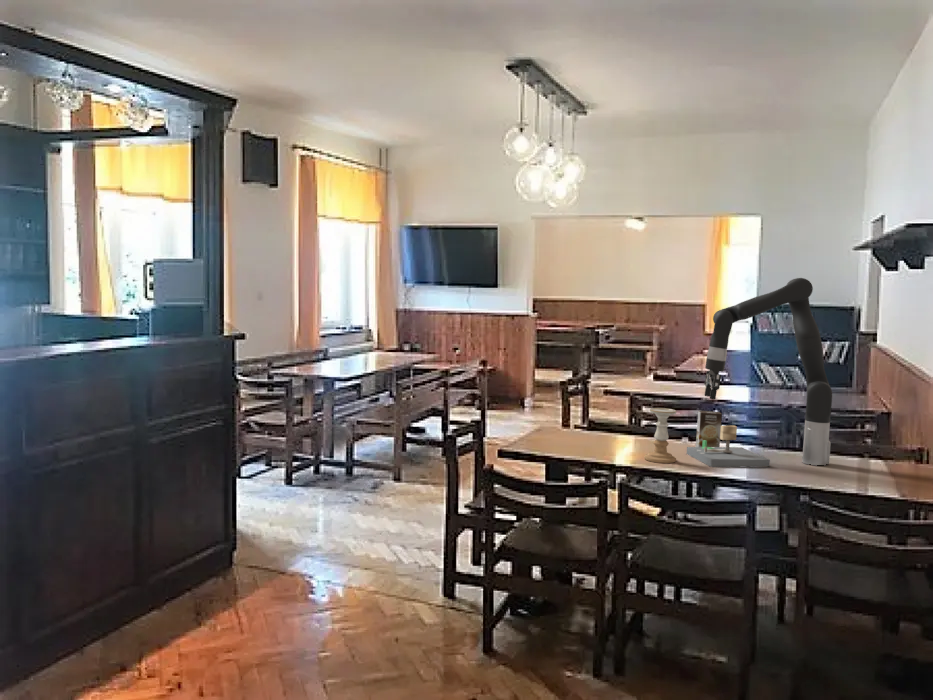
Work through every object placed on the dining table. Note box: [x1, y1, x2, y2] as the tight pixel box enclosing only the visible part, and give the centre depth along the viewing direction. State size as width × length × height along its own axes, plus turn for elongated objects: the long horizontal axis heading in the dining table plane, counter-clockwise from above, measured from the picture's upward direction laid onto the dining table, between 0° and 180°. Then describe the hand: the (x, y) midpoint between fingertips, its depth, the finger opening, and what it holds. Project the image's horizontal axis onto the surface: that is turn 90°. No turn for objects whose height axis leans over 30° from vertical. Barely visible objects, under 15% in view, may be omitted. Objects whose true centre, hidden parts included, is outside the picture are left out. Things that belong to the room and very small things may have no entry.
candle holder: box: [644, 407, 677, 464], centre depth 342 cm, size 12×12×20 cm
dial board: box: [686, 440, 771, 468], centre depth 347 cm, size 24×24×6 cm
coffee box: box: [695, 410, 723, 447], centre depth 369 cm, size 9×6×16 cm
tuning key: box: [704, 425, 738, 453], centre depth 345 cm, size 13×4×11 cm, turn 103°
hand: (709, 397), depth 352 cm, fingers open, 8 cm apart
